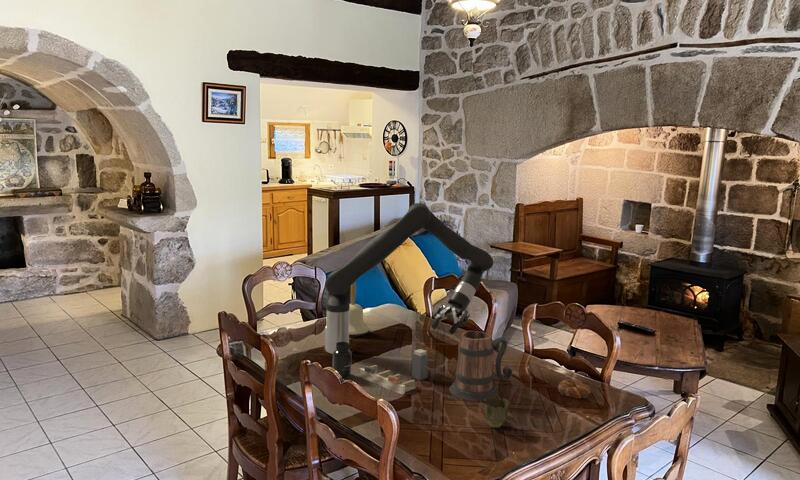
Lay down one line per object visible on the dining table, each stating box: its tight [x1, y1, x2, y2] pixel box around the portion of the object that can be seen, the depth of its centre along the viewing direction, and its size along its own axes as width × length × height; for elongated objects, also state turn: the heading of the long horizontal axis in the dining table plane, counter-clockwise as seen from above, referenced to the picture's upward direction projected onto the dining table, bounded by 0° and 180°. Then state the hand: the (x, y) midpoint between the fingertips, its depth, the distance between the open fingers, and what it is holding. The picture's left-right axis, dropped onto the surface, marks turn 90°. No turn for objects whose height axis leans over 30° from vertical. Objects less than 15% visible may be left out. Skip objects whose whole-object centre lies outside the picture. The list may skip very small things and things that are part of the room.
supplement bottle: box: [332, 342, 353, 379], centre depth 213 cm, size 7×7×12 cm
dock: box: [358, 364, 416, 395], centre depth 208 cm, size 22×7×5 cm, turn 45°
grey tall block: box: [411, 348, 429, 381], centre depth 213 cm, size 4×4×10 cm
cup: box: [483, 396, 510, 429], centre depth 176 cm, size 8×7×8 cm
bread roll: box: [557, 378, 592, 399], centre depth 204 cm, size 12×11×4 cm
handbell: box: [349, 280, 370, 335], centre depth 264 cm, size 15×15×25 cm
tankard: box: [448, 330, 513, 402], centre depth 203 cm, size 24×17×20 cm
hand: (441, 330), depth 220 cm, fingers open, 8 cm apart
